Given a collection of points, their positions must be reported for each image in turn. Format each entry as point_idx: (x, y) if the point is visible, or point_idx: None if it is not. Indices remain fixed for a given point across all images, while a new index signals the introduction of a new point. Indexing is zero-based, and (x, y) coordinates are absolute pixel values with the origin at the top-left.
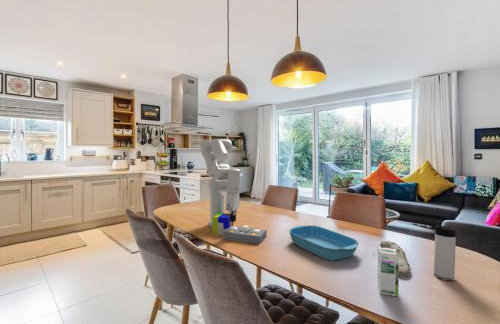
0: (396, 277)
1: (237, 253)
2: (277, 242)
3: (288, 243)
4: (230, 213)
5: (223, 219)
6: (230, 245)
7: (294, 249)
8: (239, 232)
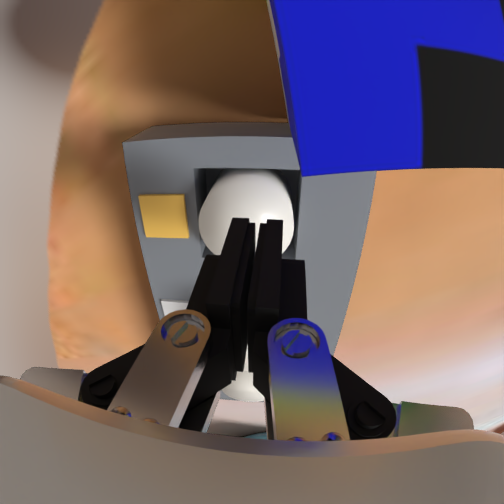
0: None
1: (48, 301)
2: (250, 403)
3: (256, 422)
4: (129, 367)
5: (283, 55)
6: (84, 241)
7: (208, 430)
8: (186, 294)
